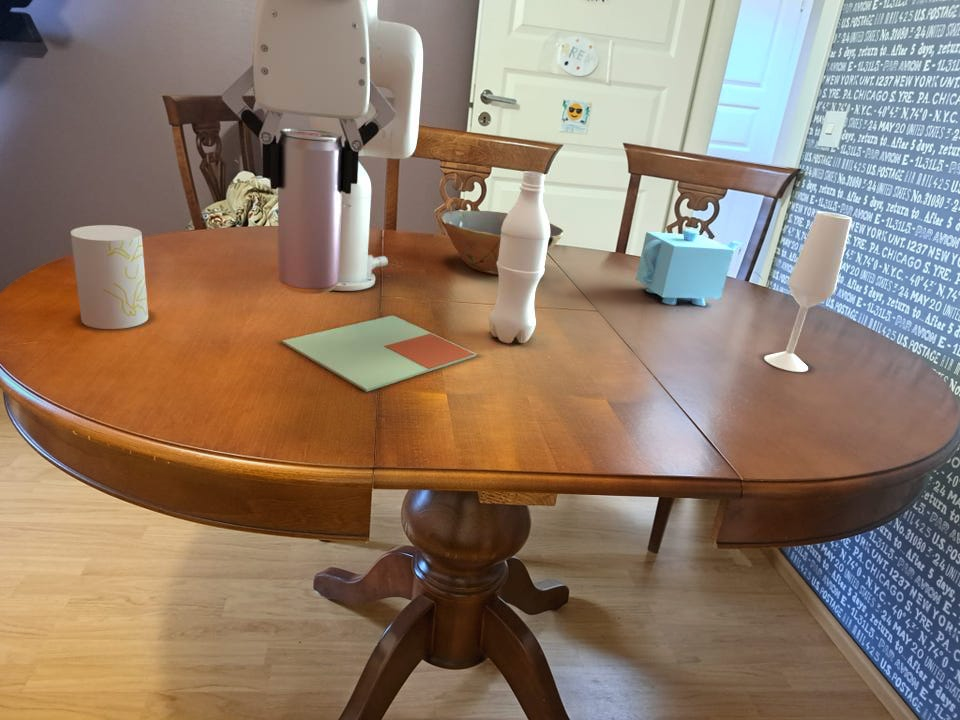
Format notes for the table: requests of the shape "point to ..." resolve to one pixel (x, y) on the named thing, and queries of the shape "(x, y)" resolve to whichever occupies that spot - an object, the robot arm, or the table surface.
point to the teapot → (684, 266)
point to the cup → (110, 276)
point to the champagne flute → (814, 277)
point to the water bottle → (521, 262)
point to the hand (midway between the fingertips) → (310, 187)
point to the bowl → (482, 237)
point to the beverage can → (309, 209)
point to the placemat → (378, 351)
